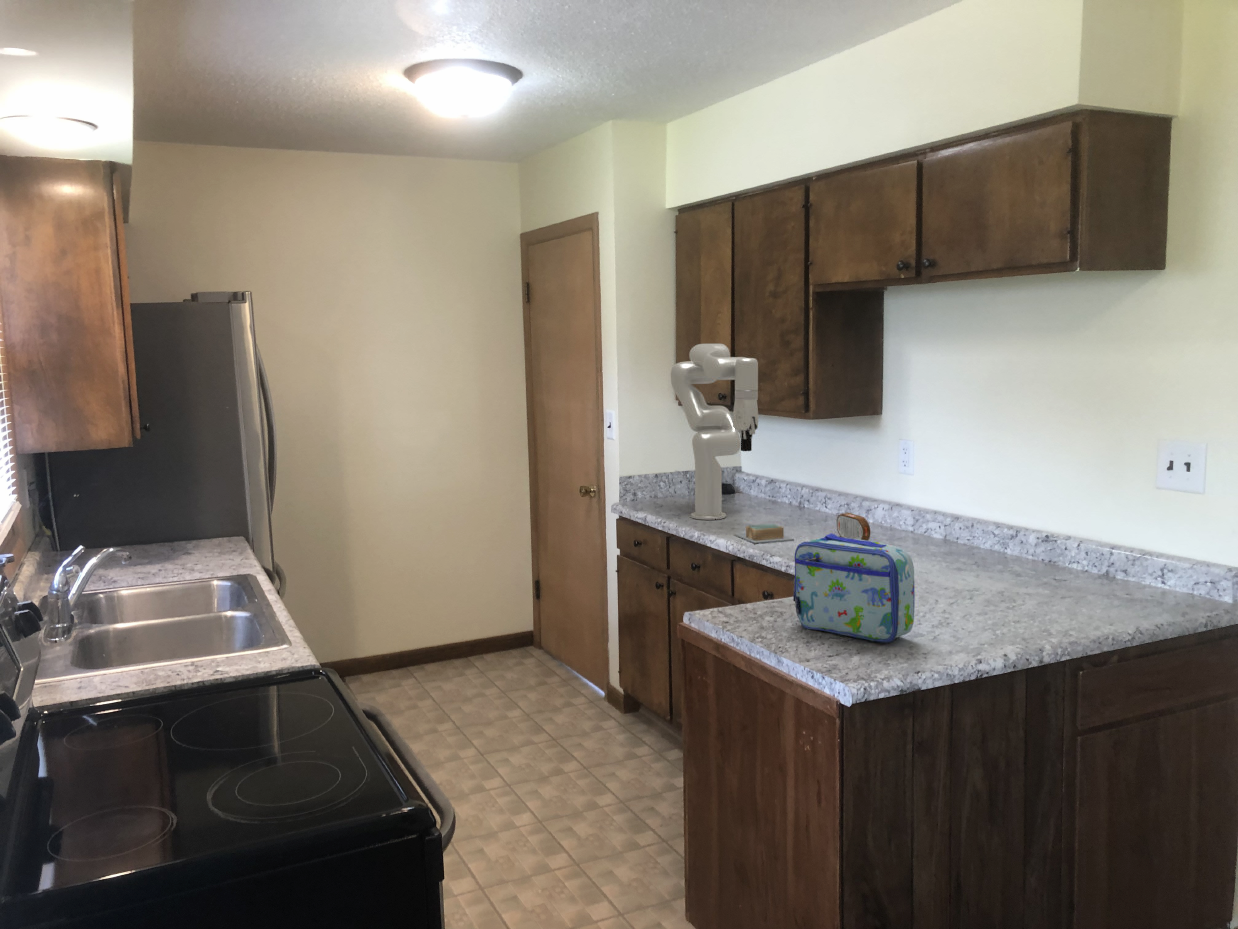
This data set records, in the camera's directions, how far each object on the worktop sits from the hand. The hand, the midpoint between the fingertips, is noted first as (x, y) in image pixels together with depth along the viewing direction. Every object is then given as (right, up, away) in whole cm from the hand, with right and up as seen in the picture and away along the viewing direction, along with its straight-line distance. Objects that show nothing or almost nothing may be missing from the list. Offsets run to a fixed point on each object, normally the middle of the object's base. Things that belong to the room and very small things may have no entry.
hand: (746, 450), depth 318 cm
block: (+3, -26, -7) cm, 27 cm away
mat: (+4, -28, -8) cm, 30 cm away
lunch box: (+8, -42, -109) cm, 117 cm away
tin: (+32, -29, -14) cm, 45 cm away
